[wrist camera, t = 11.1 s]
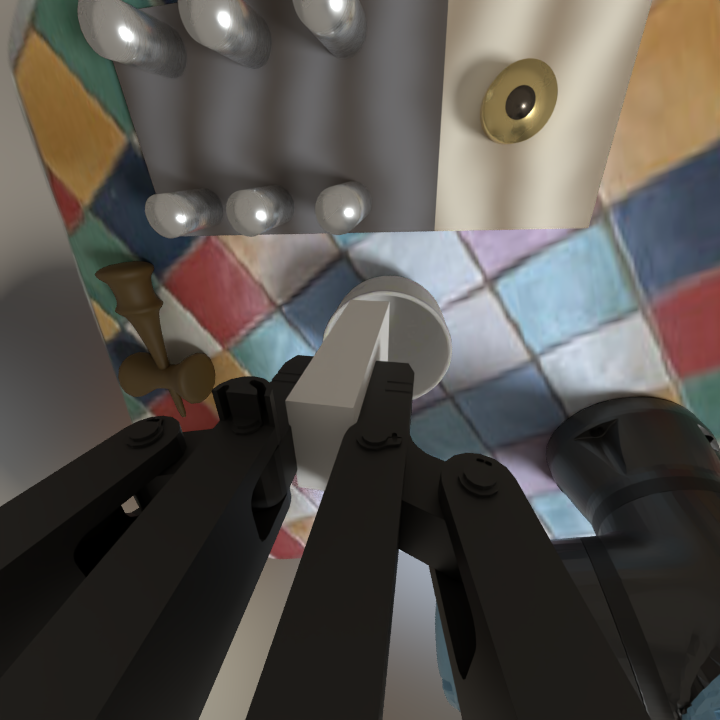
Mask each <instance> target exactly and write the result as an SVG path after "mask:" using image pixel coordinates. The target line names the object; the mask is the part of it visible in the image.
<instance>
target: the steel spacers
mask: <svg viewBox="0 0 720 720" xmlns="http://www.w3.org/2000/svg"><path fill="white" fill-rule="evenodd" d="M293 4H294V8H295V11H296V13H297V15H298V17H299V18H300V20H301V21H302V22H303V23H304V24H305V26H306V27H307V28H308V29H309V30H310V31H311V32H312V33H313V34H314V35H315V36H316V37H317V38H318V39H319V41H320V42H321V43H322V44H323V45H324V46H325V47H326V48H327V49H328V50H329V51H330V52H331V53H332V54H333V55H334V56H336V57H338V58H349V57H352V56H353V55H355V54H356V53H357V52H358V51H359V49H360V48H361V46H362V45H363V42H364V40H365V36H366V30H367V23H366V16H365V13H364V10H363V8H362V6H361V3H360V1H359V0H293ZM178 7H179V13H180V16H181V19H182V22H183V24H184V27H185V28H186V30H187V32H188V33H189V35H190V36H191V37H192V38H193V39H194V40H195V41H197V42H198V43H200V44H202V45H204V46H206V47H208V48H210V49H212V50H214V51H216V52H218V53H220V54H222V55H223V56H225V57H227V58H229V59H231V60H233V61H235V62H237V63H239V64H241V65H243V66H245V67H247V68H250V69H257V68H260V67H262V66H263V65H264V64H265V63H266V62H267V60H268V59H269V56H270V53H271V48H272V39H271V33H270V30H269V27H268V25H267V23H266V21H265V20H264V19H263V17H262V16H261V15H260V14H259V13H257V12H256V11H255V10H254V9H253V8H251V7H250V6H249V5H248V4H247V3H246V2H244V1H243V0H178ZM78 20H79V24H80V27H81V30H82V33H83V35H84V37H85V39H86V40H87V42H88V44H89V45H90V46H91V47H92V49H93V50H94V51H95V52H96V53H98V54H99V55H100V56H102V57H104V58H107V59H110V60H113V61H116V62H119V63H122V64H126V65H129V66H132V67H135V68H139V69H142V70H145V71H148V72H151V73H155V74H158V75H161V76H164V77H167V78H177V77H179V76H181V74H182V73H183V72H184V70H185V67H186V62H187V55H186V49H185V45H184V43H183V40H182V38H181V37H180V35H179V34H178V32H177V31H176V30H175V29H174V28H173V27H171V26H170V25H168V24H166V23H164V22H162V21H160V20H158V19H156V18H154V17H152V16H150V15H149V14H147V13H145V12H143V11H141V10H139V9H137V8H135V7H133V6H131V5H129V4H127V3H125V2H123V1H121V0H79V2H78ZM371 205H372V199H371V195H370V192H369V190H368V189H367V188H366V187H365V186H364V185H363V184H362V183H360V182H356V181H350V182H346V183H342V184H339V185H335V186H331V187H328V188H326V189H325V190H323V191H322V192H321V193H320V195H319V196H318V198H317V201H316V205H315V213H316V217H317V220H318V222H319V224H320V225H321V227H322V228H323V229H324V230H326V231H327V232H329V233H331V234H335V235H342V234H346V233H348V232H349V231H351V230H352V229H353V228H354V227H355V226H356V225H357V224H359V223H360V222H361V221H362V220H363V219H364V218H365V217H366V216H367V215H368V214H369V212H370V210H371ZM145 212H146V217H147V219H148V221H149V223H150V225H151V226H152V228H153V229H154V230H155V231H156V232H157V233H159V234H160V235H162V236H164V237H167V238H175V237H178V236H182V235H185V234H188V233H191V232H195V231H198V230H201V229H204V228H208V227H211V226H214V225H217V224H219V223H220V222H221V220H222V218H223V214H224V210H223V205H222V203H221V201H220V199H219V197H218V196H217V195H216V194H215V193H214V192H212V191H211V190H209V189H204V188H202V189H194V190H186V191H178V192H171V193H163V194H155V195H152V196H150V197H149V198H148V200H147V202H146V205H145ZM226 213H227V217H228V220H229V222H230V224H231V225H232V227H233V228H234V229H235V230H236V231H237V232H239V233H240V234H242V235H245V236H249V237H252V236H256V235H259V234H261V233H263V232H265V231H268V230H270V229H272V228H275V227H277V226H279V225H282V224H284V223H286V222H288V221H289V220H290V219H291V218H292V216H293V213H294V201H293V198H292V196H291V194H290V193H289V192H288V191H287V190H286V189H285V188H283V187H282V186H279V185H270V186H264V187H258V188H252V189H246V190H240V191H236V192H234V193H233V194H232V195H231V196H230V197H229V199H228V201H227V205H226Z"/></svg>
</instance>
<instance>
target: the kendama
mask: <svg viewBox="0 0 720 720" xmlns="http://www.w3.org/2000/svg"><path fill="white" fill-rule="evenodd" d="M153 271H154V266H153V265H152V264H150V263H148V262H143V261H133V262H123V263H118V264H113V265H109V266H106V267H103V268H102V269H100V270H98V271H97V272H96V273H95V276H96V277H97V278H98V279H99V280H101V281H103V282H105V283H106V284H107V285H108V286H109V287H110V288H111V290H112V291H113V293H114V295H115V297H116V300H117V307H116V309H115V312H116V313H118V314H119V315H122V316H124V317H126V318H127V319H128V320H129V321H130V323H131V324H132V325H133V327H134V328H135V330H136V331H137V332H138V334H139V336H140V337H141V339H142V340H143V342H144V343H145V345H146V347H147V348H148V350H149V352H150V354H151V355H150V354H149V353H144V352H138V353H135V354H132V355H130V356H129V357H127V358H126V359H125V360H124V361H123V362H122V364H121V366H120V368H119V375H118V378H119V381H120V385H121V387H122V388H123V390H124V391H125V392H126V393H127V394H129V395H131V396H133V397H139V396H144V395H146V394H148V393H150V392H151V391H153V390H155V389H157V388H166V389H168V390H169V392H170V394H171V396H172V398H173V401H174V403H175V405H176V407H177V409H178V411H179V413H180V415H181V416H182V417H186V411H185V408H184V404H183V402H182V399H181V397H182V398H183V399H185V400H186V401H188V402H189V403H191V404H193V403H200V402H202V401H203V400H205V399H206V398H207V397H208V396H209V394H210V393H211V392H212V389H213V387H214V384H215V371H214V366H213V364H212V362H211V359H210V358H209V357H208V356H207V355H206V354H204V353H195V354H193V355H191V356H189V357H187V358H186V359H184V360H183V361H182V362H181V363H179V364H170V363H169V360H168V356H167V353H166V349H165V345H164V340H163V336H162V331H161V325H160V318H159V311H160V308H161V307H162V305H163V301H162V300H160V299H159V298H158V297H157V296H156V295H155V293H154V290H153V286H152V282H151V275H152V273H153Z"/></svg>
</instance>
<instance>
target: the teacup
mask: <svg viewBox="0 0 720 720" xmlns="http://www.w3.org/2000/svg"><path fill="white" fill-rule="evenodd" d="M350 300H368V301H388V302H390V306H389V339H388V362H400V363H409V365H410V366H411V368H412V369H413V371H414V373H415V374H414V387H413V399H416V398H419V397H420V396H422V395H424V394H426V393H428V392H429V391H430V390H432V389H433V388H434V387H435V386H436V385H437V384H438V383H439V382H440V381H441V379H442V378H443V376H444V375H445V373H446V372H447V370H448V367H449V365H450V362H451V357H452V341H451V336H450V333H449V330H448V328H447V326H446V324H445V320H444V317H443V315H442V312H441V310H440V307H439V305H438V304H437V302H436V300H435V299H434V297H433V296H432V295H431V294H430V293H429V292H428V291H427V290H426V289H425V288H424V287H422V286H421V285H419V284H418V283H416V282H414V281H412V280H410V279H407V278H404V277H399V276H379V277H375V278H372V279H369V280H366V281H364V282H362V283H360V284H359V285H357V286H356V287H355V288H353V289H352V290H351V291H350V292H349V293H348V294H347V295H346V297H345V298H344V299H343V300H342V302H341V303H340V305H339V307H338V308H337V310H336V312H335V313H334V314H333V315H332V317H331V319H330V320H329V322H328V324H327V326H326V329H325V332H324V335H323V342H324V340H325V339H326V337H327V335H328V334H329V332H330V331H331V329H332V328H333V326H334V325H335V323H336V322H337V320H338V319H339V317H340V315H341V314H342V312H343V311H344V309H345V308H346V306H347V305H348V303H349V302H350Z"/></svg>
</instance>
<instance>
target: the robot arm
mask: <svg viewBox="0 0 720 720" xmlns="http://www.w3.org/2000/svg"><path fill="white" fill-rule="evenodd" d="M389 306H390V302H388V301H368V300H350V302H349V303H348V305H347V306H346V308H345V309H344V311H343V312H342V314H341V315H340V317H339V319H338V320H337V322H336V323H335V325H334V326H333V328H332V329H331V331H330V332H329V334H328V335H327V337H326V339H325V340H324V342H323V343H322V345H321V346H320V348H319V349H318V351H317V352H316V354H315V356H302V355H297V356H295V357H294V358H292V359H290V360H289V361H287V362H285V364H284V365H283V366H282V367H281V369H280V370H279V371H278V374H276V375H275V376H274V378H273V379H272V382H268V381H267V380H265V379H263V378H259V377H255V376H252V377H239V378H235V379H231V380H228V381H226V382H223V383H221V384H219V385H218V386H217V387H215V388H214V389H212V394H213V397H214V401H215V404H216V408H217V411H218V415H219V418H220V421H219V422H218V424H217V425H216V426H215V427H214V428H213V429H208V430H199V431H190V432H182V429H181V426H180V424H179V421H177V420H176V419H174V418H173V417H167V416H157V417H150V418H147V419H143V420H140V421H137V422H136V423H134V424H132V425H130V426H128V427H126V428H124V429H123V430H121V431H119V432H118V433H116V434H115V435H113V436H111V437H110V438H109V439H107V440H105V441H104V442H102V443H101V444H99V445H97V446H96V447H94V448H93V449H91V450H89V451H88V452H86V453H85V454H83V455H81V456H80V457H78V458H77V459H75V460H74V461H72V462H70V463H69V464H67V465H66V466H64V467H62V468H61V469H59V470H58V471H56V472H54V473H53V474H52V475H50V476H48V477H47V478H45V479H43V480H42V481H40V482H39V483H37V484H35V485H34V486H32V487H31V488H29V489H28V490H26V491H24V492H23V493H21V494H20V495H18V496H16V497H15V498H13V499H12V500H10V501H9V502H7V503H5V504H4V505H2V506H1V507H0V720H199V717H200V715H201V713H202V710H203V708H204V706H205V703H206V701H207V699H208V696H209V694H210V691H211V689H212V687H213V685H214V682H215V680H216V677H217V675H218V673H219V671H220V668H221V666H222V663H223V661H224V659H225V656H226V654H227V652H228V649H229V647H230V645H231V642H232V640H233V638H234V635H235V633H236V631H237V628H238V626H239V624H240V621H241V619H242V617H243V614H244V612H245V610H246V607H247V605H248V603H249V600H250V598H251V596H252V593H253V591H254V589H255V586H256V584H257V582H258V579H259V577H260V575H261V572H262V570H263V568H264V565H265V563H266V560H267V558H268V556H269V554H270V551H271V549H272V547H273V544H274V542H275V540H276V537H277V535H278V533H279V530H280V528H281V526H282V523H283V521H284V519H285V516H286V514H287V512H288V509H289V507H290V503H291V492H290V485H291V483H292V481H293V479H294V476H295V474H296V473H297V479H298V486H299V487H302V488H309V489H315V490H321V491H324V494H323V497H322V500H321V503H320V506H319V509H318V512H317V515H316V517H315V520H314V523H313V526H312V529H311V532H310V535H309V538H308V541H307V543H306V546H305V549H304V552H303V555H302V558H301V561H300V564H299V567H298V569H297V572H296V576H295V578H294V581H293V584H292V587H291V590H290V593H289V595H288V598H287V601H286V604H285V607H284V610H283V613H282V616H281V619H280V622H279V624H278V627H277V630H276V633H275V636H274V639H273V642H272V645H271V647H270V650H269V653H268V656H267V659H266V662H265V665H264V668H263V671H262V674H261V676H260V679H259V682H258V685H257V688H256V691H255V694H254V697H253V699H252V702H251V705H250V708H249V711H248V714H247V717H246V720H382V717H383V707H384V697H385V686H386V676H387V666H388V656H389V644H390V634H391V625H392V614H393V604H394V594H395V584H396V573H397V562H398V553H399V549H400V550H402V551H404V552H405V553H407V554H409V555H411V556H413V557H414V558H416V559H418V560H420V561H422V562H424V563H425V564H427V565H429V569H430V573H431V578H432V583H433V588H434V592H435V596H436V613H435V615H436V616H435V633H436V651H437V661H438V668H439V673H440V676H441V677H442V680H443V690H444V693H445V696H446V698H447V700H448V702H449V703H450V704H451V706H453V707H454V708H455V709H458V710H459V711H460V712H461V716H462V720H720V448H719V445H718V443H717V440H716V438H715V437H714V435H713V434H712V432H711V431H710V430H709V429H708V428H707V427H706V426H705V425H704V424H703V423H702V422H701V421H700V420H699V419H698V418H697V417H696V416H695V415H694V414H693V413H692V412H690V411H689V410H687V409H686V408H684V407H682V406H680V405H678V404H676V403H673V402H670V401H666V400H662V399H656V398H648V397H631V398H621V399H615V400H610V401H606V402H602V403H599V404H596V405H593V406H591V407H588V408H586V409H584V410H582V411H580V412H578V413H576V414H575V415H573V416H572V417H570V418H569V419H567V420H566V421H565V422H564V423H563V424H562V425H561V426H560V427H559V428H558V429H557V430H556V431H555V432H554V434H553V435H552V437H551V439H550V441H549V443H548V446H547V451H546V459H547V463H548V466H549V469H550V471H551V474H552V476H553V479H554V481H555V482H556V484H557V486H558V487H559V488H560V490H561V491H562V492H563V493H564V494H565V495H567V497H568V498H569V499H570V500H571V502H572V503H573V504H574V505H575V506H576V508H577V509H578V510H579V511H580V512H581V513H582V515H583V516H584V517H585V518H586V519H587V520H588V521H589V522H590V524H591V525H592V527H593V529H594V531H595V534H596V536H591V537H580V538H579V537H576V538H565V539H555V540H550V539H549V537H548V535H547V533H546V532H545V530H544V528H543V526H542V525H541V523H540V521H539V519H538V518H537V516H536V514H535V512H534V510H533V509H532V507H531V505H530V503H529V502H528V500H527V498H526V496H525V494H524V493H523V491H522V489H521V487H520V486H519V484H518V482H517V480H516V478H515V477H514V476H513V475H512V474H511V472H510V471H509V470H508V469H507V467H505V466H504V465H502V464H501V463H499V462H498V461H496V460H495V459H493V458H490V457H487V456H484V455H482V454H474V453H463V454H458V455H454V456H453V457H451V458H450V459H448V460H447V461H446V462H445V461H443V460H440V459H438V458H435V457H433V456H431V455H429V454H427V453H425V452H424V451H422V450H421V449H420V448H418V447H417V446H416V444H415V443H414V442H413V441H412V439H411V436H410V423H411V413H412V400H413V387H414V374H415V373H414V371H413V369H412V368H411V366H410V365H409V363H400V362H388V339H389ZM132 496H134V498H135V500H136V502H137V504H138V506H139V508H138V509H136V510H135V511H133V512H132V513H125V512H124V510H123V508H122V506H121V505H122V504H123V503H124V502H126V501H127V500H128V499H129V498H131V497H132Z"/></svg>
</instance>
